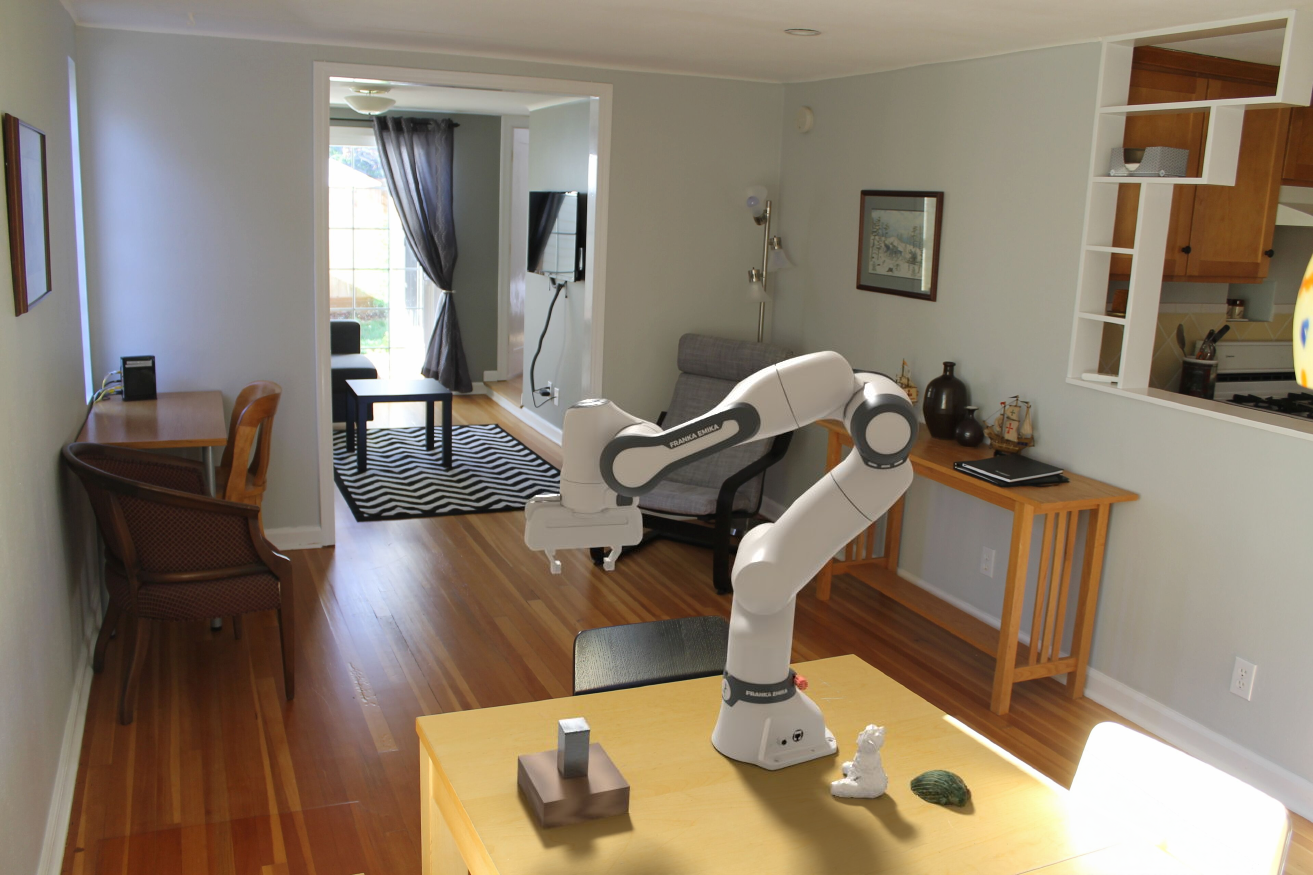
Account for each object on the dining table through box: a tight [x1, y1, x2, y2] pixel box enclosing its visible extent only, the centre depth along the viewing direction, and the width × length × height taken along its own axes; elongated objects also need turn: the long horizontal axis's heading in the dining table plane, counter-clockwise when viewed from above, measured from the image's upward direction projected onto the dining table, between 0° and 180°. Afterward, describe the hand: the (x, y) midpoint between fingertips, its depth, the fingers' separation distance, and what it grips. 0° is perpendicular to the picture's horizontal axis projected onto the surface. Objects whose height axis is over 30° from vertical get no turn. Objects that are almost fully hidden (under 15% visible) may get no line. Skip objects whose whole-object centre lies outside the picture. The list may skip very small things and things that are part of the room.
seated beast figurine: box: [830, 723, 889, 799], centre depth 167 cm, size 10×9×12 cm
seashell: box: [909, 769, 971, 808], centre depth 169 cm, size 10×4×10 cm
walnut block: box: [516, 741, 631, 830], centre depth 161 cm, size 14×14×5 cm
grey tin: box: [557, 716, 591, 779], centre depth 160 cm, size 4×4×8 cm
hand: (582, 570), depth 173 cm, fingers open, 8 cm apart
